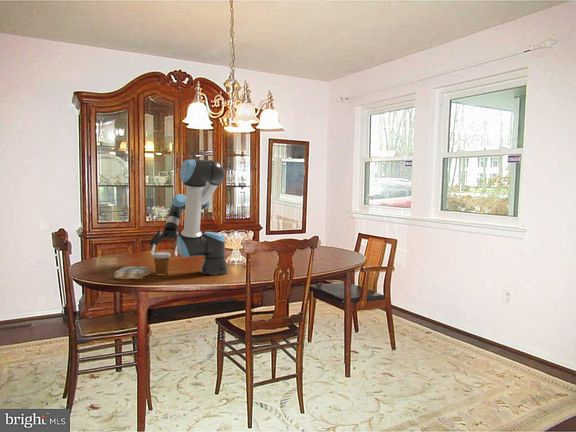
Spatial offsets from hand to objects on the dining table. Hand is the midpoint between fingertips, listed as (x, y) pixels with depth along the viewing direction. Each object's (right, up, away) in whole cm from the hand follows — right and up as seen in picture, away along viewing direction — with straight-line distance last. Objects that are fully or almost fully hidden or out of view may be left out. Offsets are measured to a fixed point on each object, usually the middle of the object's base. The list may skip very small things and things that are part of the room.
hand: (163, 254), depth 244 cm
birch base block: (-14, -11, -11) cm, 21 cm away
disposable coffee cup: (0, -11, -5) cm, 12 cm away
